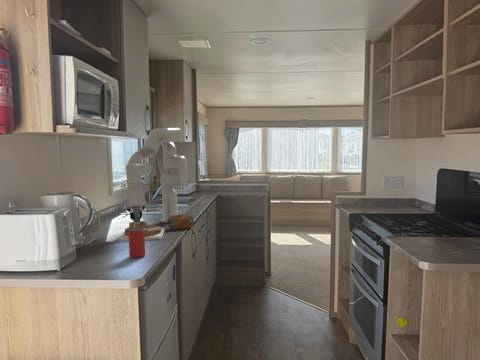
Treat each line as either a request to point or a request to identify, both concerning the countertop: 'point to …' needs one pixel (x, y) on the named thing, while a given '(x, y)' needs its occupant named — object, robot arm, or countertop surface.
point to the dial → (144, 228)
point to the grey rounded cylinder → (136, 214)
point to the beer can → (136, 243)
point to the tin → (180, 221)
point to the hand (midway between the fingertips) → (136, 218)
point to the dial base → (150, 237)
